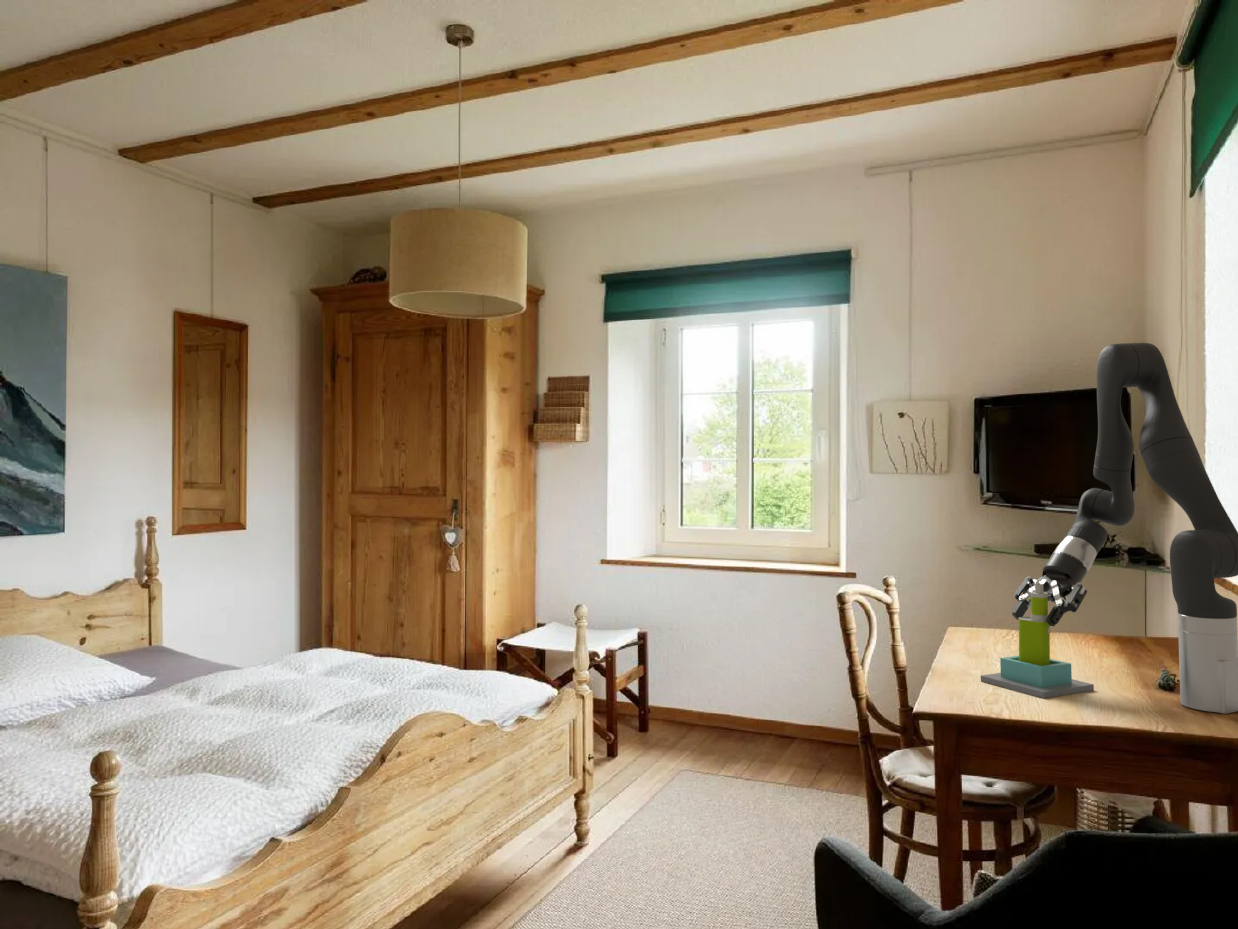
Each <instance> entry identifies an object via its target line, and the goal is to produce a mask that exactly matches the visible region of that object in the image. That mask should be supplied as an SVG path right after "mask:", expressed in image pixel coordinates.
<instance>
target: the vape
mask: <svg viewBox="0 0 1238 929" xmlns="http://www.w3.org/2000/svg"><path fill="white" fill-rule="evenodd" d="M1030 599H1031V605H1030V616H1023V617H1019V620H1018V656H1019V661H1022V662H1026V663H1030V664H1034V665H1039V666H1044V665H1050V659H1051V656H1050V654H1051V652H1050V651H1051V649H1050V648H1051V646H1050V645H1051V641H1050V638H1051V637H1050V636H1051V626H1050V625H1049V624H1048V623H1047V621H1046V618H1047V616H1048V615H1049V613H1048V612H1049V611H1048V610H1049V608H1048V607H1049V604H1048V603H1049V601H1048V593H1046V592H1043V584H1035V592H1031V597H1030Z"/></svg>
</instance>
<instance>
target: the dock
mask: <svg viewBox="0 0 1238 929" xmlns="http://www.w3.org/2000/svg"><path fill="white" fill-rule="evenodd" d="M999 660H1000V662H999V663H1000V672H997V673H996V672H995V673H990V674H983V675H982V674H981V675H980V682H983V683H985V684H990V685H993V686H998V687H1001V688H1004V689H1008V690H1012V691H1015V692H1018V693H1022V694H1027V695H1030V696H1034V697H1036V698H1041V699H1048V698H1055V697H1060V696H1066V695H1072V694H1078V693H1079V694H1080V693H1085V692H1093V691H1094V690H1095V688H1094V684H1093V683H1090V682H1089V683H1088V682H1086V681H1082V680H1081V681H1080V680H1077V679H1073V678H1072V663H1071V662H1067V661H1061V660H1057V659H1053V658H1050V665H1044V666H1039V665H1034V664H1030V663H1026V662H1022V661H1019V655H1013V656H1006V657H1000V659H999Z"/></svg>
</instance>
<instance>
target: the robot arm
mask: <svg viewBox="0 0 1238 929" xmlns="http://www.w3.org/2000/svg"><path fill="white" fill-rule="evenodd" d="M1166 364H1167V363H1166V362H1165V359H1164V356H1163V353H1162V352H1161V351H1160V350H1159V348H1158V347H1157V346H1156V345H1155V344H1153V343H1149V342H1130V343H1129V342H1128V343H1124V342H1123V343H1112V344H1109V345H1106V346H1105V347H1104V348H1103V349H1102V350H1101V352H1100V353H1099V356H1098V360H1097V364H1096V406H1097V439H1096V440H1097V442H1096V449H1095V455H1094V456H1095V457H1094V464H1093V470H1092V471H1093V473H1092V474H1093V477H1094V478H1095V479H1096V480H1099V481H1100V482H1102V483H1104V484H1106V485H1107V486H1109V487H1110V489H1111V491H1110V490H1107V489H1106V490H1105V489H1102V488H1098V487H1092V488H1090V489H1088V490H1086V491H1084V492H1083V493H1082V495H1081V497H1080V500H1079V502H1078V508H1077V511H1076V512H1077V513H1076V515H1075V519H1074V520H1073V521H1074V522H1073V524H1072V526H1071V528H1070V529H1069V530H1068V532H1067V534H1066V535H1065V537H1064V538H1063V539H1062V541H1061V542H1060V543H1059V544H1058V545H1057V546H1056V548H1055V550H1054V551H1053V552H1052V554H1051V556H1050V557H1049V559H1048V560H1047V561H1046V562H1045V564H1044V566H1043V568H1042V575H1041V577H1039V578H1038V579H1034V578H1032V577H1031V576H1030V575H1028V576H1026V577H1025V579H1024V580H1023V581H1022V582H1021V584H1020V585H1019V586H1018V588H1017V589H1016V591H1015V592H1014V593H1013V597H1014V599H1015V600H1017V603H1016V605H1015V606H1014V608H1013V610H1012V612H1011V613H1012V616H1013V618H1014V619H1015V620H1018V621H1019V617H1024V616H1025V613H1026V612H1027V611H1028V609H1029V607H1031V592H1035V584H1043V592H1046V593H1048V602H1049V601H1050V602H1052V603H1055V605H1054V606H1053V607H1052V609H1051V610H1050V612H1049V613H1048V616H1047V618H1046V621H1047V623H1048V624H1049V625H1050V627H1055V626H1056V625H1057V624H1059V622H1060V621H1061V619H1062V618H1063V616H1064V615H1065V614H1068V612H1071V613H1076V612H1077V610H1078V609H1079V608H1080V605H1081V604H1082V603H1083V600H1084V599H1085V597H1086V595H1087V593H1088V590H1087V589H1086V587H1085V586H1084V585H1083V584H1082V581H1083V580H1084V578H1085V576H1086V575H1087V573H1089V570H1090V569H1091V567H1092V565H1093V563H1094V562H1095V559H1096V557H1097V555H1098V554H1099V552H1100V551H1101V549H1102V547H1104V545H1105V543H1106V541H1107V539H1108V532H1107V530H1106V528H1105V527H1103V525H1101V524H1099V523H1098V522H1101V523H1105V524H1108V525H1112V526H1116V527H1123V526H1125V525H1127V524H1129V523H1130V521H1131V520H1132V519H1133V517H1134V515H1135V499H1134V494H1133V488H1132V481H1131V472H1132V465H1133V464H1132V463H1133V458H1134V452H1135V451H1134V449H1135V444H1134V443H1135V442H1134V438H1133V433H1132V432H1131V430H1130V427H1129V426H1128V424H1127V421H1126V419H1125V416H1124V414H1123V411H1122V410H1123V409H1122V404H1121V401H1122V394H1123V389H1124V388H1137V389H1138V390H1139V392H1140V394H1141V396H1142V398H1143V402H1144V403H1143V404H1144V406H1145V417H1144V421H1143V424H1142V426H1141V430H1140V434H1139V438H1138V448H1139V452H1140V455H1141V458H1142V460H1143V462H1144V465H1145V468H1146V470H1147V473H1148V475H1149V476H1150V478H1151V480H1153V482H1154V483H1156V485H1157V486H1158V487H1159V488H1160V489H1161V490H1162V491H1163V492H1164V493H1166V495H1167V496H1169V498H1171V499H1172V500H1173V501H1174V502H1175V503H1176V504H1177V505H1179V507H1180V508H1182V510H1183V511H1184V513H1185V515H1187V517H1188V519H1189V520H1190V523H1191V524H1192V526H1193V529H1188V530H1182V531H1181V532H1179V533H1176V535H1175V536H1174V538H1173V539H1172V541H1171V544H1170V548H1169V569H1170V577H1171V588H1172V591H1171V592H1172V597H1173V598H1174V601H1175V603H1176V606H1177V627H1178V628H1177V629H1178V631H1177V632H1178V661H1179V662H1178V664H1179V666H1178V667H1179V692H1180V693H1179V696H1180V701H1179V702H1180V704H1181V705H1182V706H1184V707H1186V708H1190V709H1192V710H1193V709H1194V710H1196V711H1197V710H1199V711H1205V712H1212V713H1220V714H1223V715H1225V714H1231V713H1237V712H1238V605H1237V603H1236V601H1235V600H1232V599H1231V598H1228V597H1225V596H1222V595H1221V594H1219V592H1218V591H1217V589H1216V585H1215V579H1224V578H1225V579H1228V578H1234V577H1237V576H1238V530H1237V529H1236V526H1235V525H1234V523H1233V521H1232V519H1231V518H1230V516H1229V515H1228V513H1227V511H1226V509H1225V508H1224V506H1223V504H1222V502H1221V501H1220V498H1219V496H1218V494H1217V492H1216V490H1215V488H1214V486H1213V484H1212V482H1211V479H1210V477H1209V475H1208V472H1207V470H1206V468H1205V466H1204V463H1203V461H1202V458H1201V455H1200V453H1199V450H1198V448H1197V446H1196V443H1195V441H1194V439H1193V437H1192V434H1191V432H1190V431H1189V428H1188V427H1187V424H1186V421H1185V419H1184V416H1183V414H1182V411H1181V409H1180V406H1179V404H1178V400H1177V398H1176V395H1175V390H1174V388H1173V385H1172V382H1171V378H1170V374H1169V371H1168V369H1167V368H1168V367H1167V365H1166ZM1096 521H1097V522H1096ZM1027 599H1028V600H1027Z"/></svg>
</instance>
